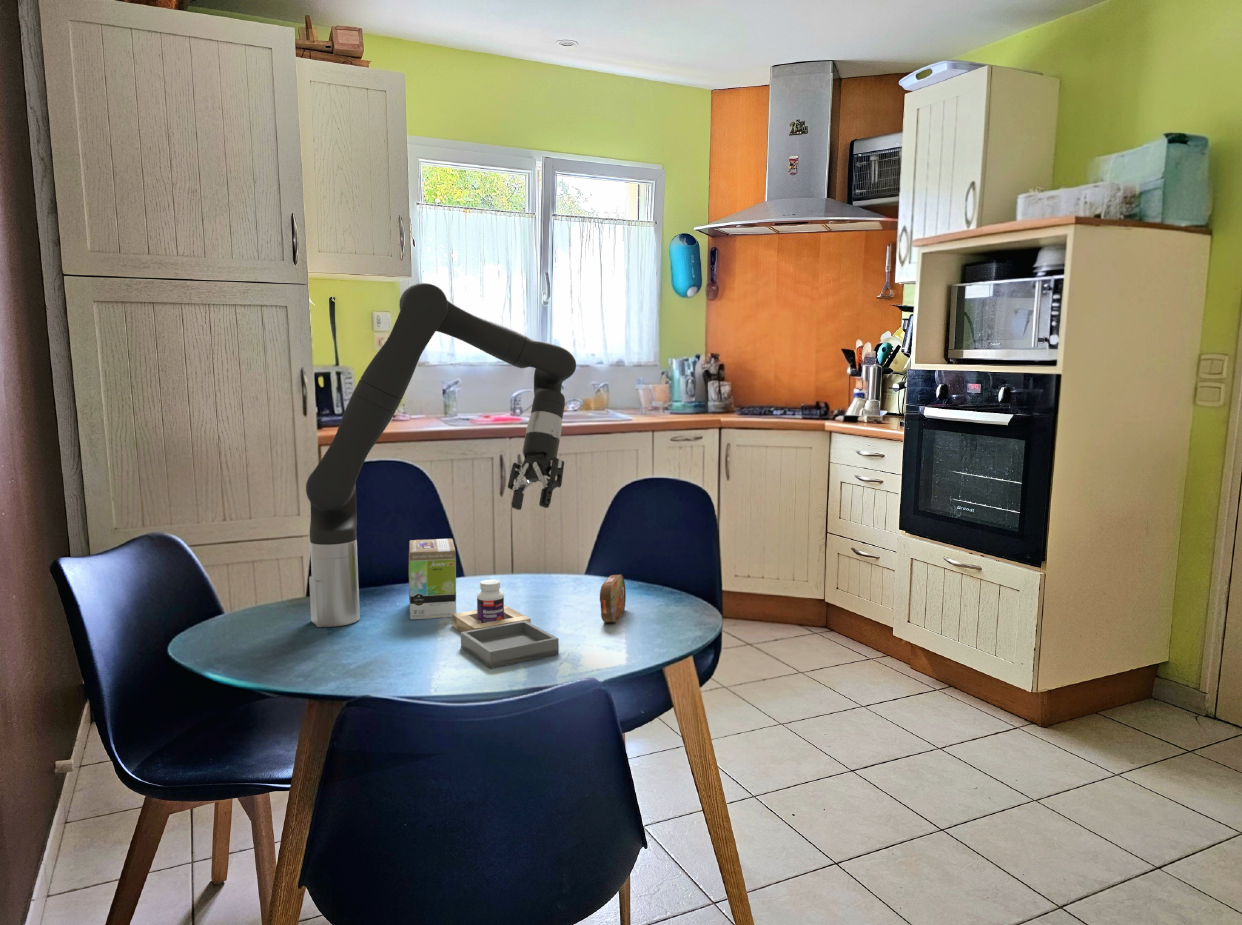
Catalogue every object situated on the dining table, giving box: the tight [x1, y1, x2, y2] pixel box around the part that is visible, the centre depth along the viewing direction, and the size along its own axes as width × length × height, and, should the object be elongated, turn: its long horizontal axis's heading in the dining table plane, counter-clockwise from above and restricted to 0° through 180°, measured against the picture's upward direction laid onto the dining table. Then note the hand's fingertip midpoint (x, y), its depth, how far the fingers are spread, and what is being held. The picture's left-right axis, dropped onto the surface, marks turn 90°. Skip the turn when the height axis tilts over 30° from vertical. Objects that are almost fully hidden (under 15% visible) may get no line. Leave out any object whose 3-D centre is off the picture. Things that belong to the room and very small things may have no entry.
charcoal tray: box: [460, 621, 560, 670], centre depth 153 cm, size 14×14×3 cm
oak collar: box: [451, 604, 532, 633], centre depth 167 cm, size 12×12×2 cm
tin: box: [599, 574, 627, 624], centre depth 175 cm, size 15×3×8 cm, turn 168°
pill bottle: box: [476, 579, 505, 623], centre depth 167 cm, size 5×5×10 cm
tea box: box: [408, 538, 457, 620], centre depth 181 cm, size 15×10×15 cm, turn 14°
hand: (529, 507), depth 174 cm, fingers open, 8 cm apart
